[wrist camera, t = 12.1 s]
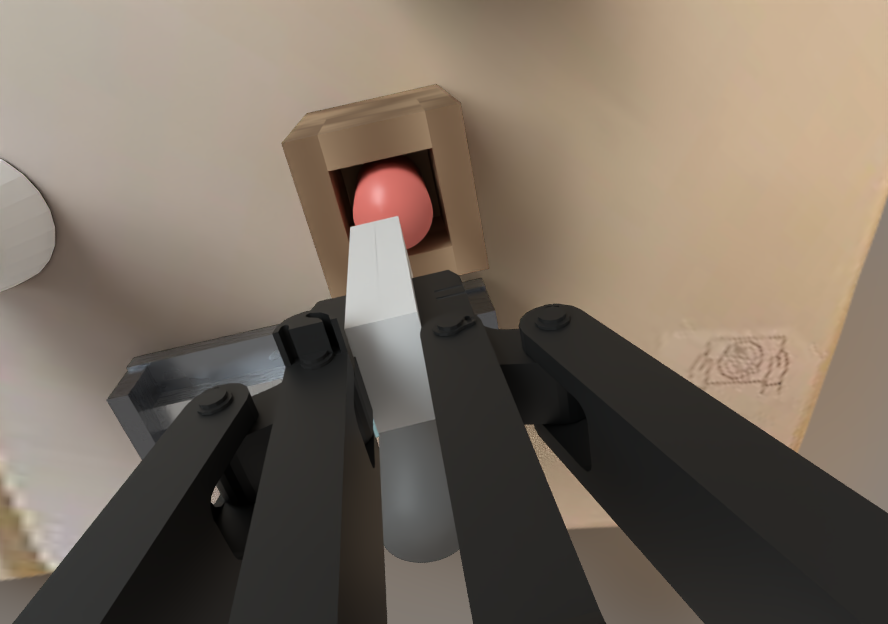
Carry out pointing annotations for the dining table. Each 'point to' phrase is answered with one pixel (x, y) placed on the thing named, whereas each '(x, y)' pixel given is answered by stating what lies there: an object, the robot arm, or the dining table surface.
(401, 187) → the button
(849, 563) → the robot arm
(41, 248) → the cup
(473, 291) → the rail track
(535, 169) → the dining table surface
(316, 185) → the open wooden box
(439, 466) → the carriage
